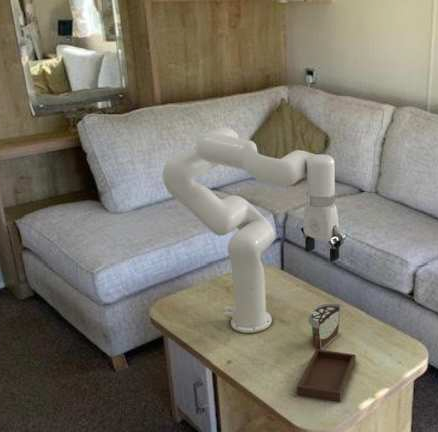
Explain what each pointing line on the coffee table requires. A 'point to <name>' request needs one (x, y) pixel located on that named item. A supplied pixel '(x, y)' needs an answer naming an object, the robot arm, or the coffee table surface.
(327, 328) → the lattice half-cylinder
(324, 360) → the tray
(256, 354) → the coffee table surface
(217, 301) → the coffee table surface
